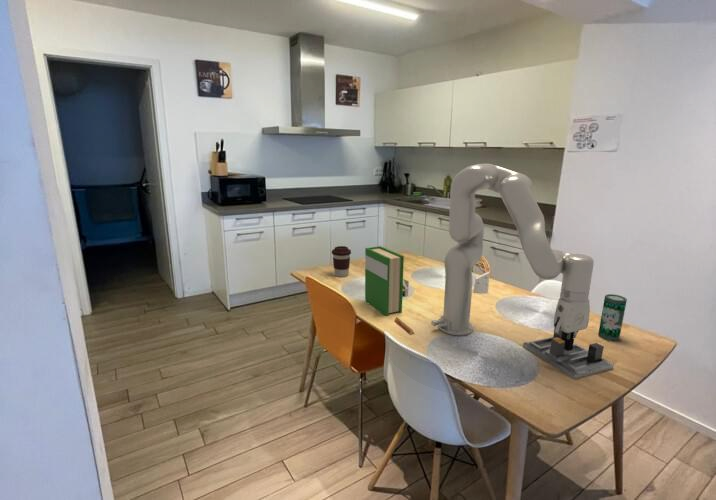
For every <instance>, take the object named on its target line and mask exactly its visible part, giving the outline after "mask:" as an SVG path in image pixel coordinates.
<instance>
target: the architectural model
mask: <svg viewBox="0 0 716 500" xmlns="http://www.w3.org/2000/svg"><path fill="white" fill-rule="evenodd" d="M409 284H410V283H409V280H407V279H405V278H403V294H405V295H403V294H402V296H404V297H405V296H406V297H408V296H409Z"/></svg>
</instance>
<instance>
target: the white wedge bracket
mask: <svg viewBox="0 0 716 500" xmlns="http://www.w3.org/2000/svg"><path fill="white" fill-rule="evenodd" d="M490 275H491V274H490V271H487V272H484V273H483V274H481V275H478V276H477V277H475V279H474V284H473V292H474V293H475V294H489V283H490Z"/></svg>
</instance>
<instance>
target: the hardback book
mask: <svg viewBox="0 0 716 500" xmlns="http://www.w3.org/2000/svg"><path fill="white" fill-rule="evenodd" d="M364 252H365V254H364V255H365V257H364V258H365V260H364V262H365V263H364V265H365V266H364V267H365V269H364V271H365V272H364V276H365V277H364V279H365V281H364V284H365V285H364V302H365V301H366V304H368V303H369V304H368V305H370V306H371V307H373V308H374V309H375V310H377V311H378V312H380V313H382V314H383V315H385V317H389V314H392V313H396V312H398V313H399V314H402V313H403V295H402V294H403V279H404V265H405V264H404V262H405V261H404V260H405V259H404V258H405V256H404V255H402V254H400V253H398V252H395V251H393V250H391V249H389V248H386V247H383V246H381V245H379V246H373V247H365V249H364Z"/></svg>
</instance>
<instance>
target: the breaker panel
mask: <svg viewBox="0 0 716 500" xmlns="http://www.w3.org/2000/svg"><path fill="white" fill-rule="evenodd" d="M555 329H556V328H555V327H554V330H553V336H550V337H546V338H545V337H544V338H541V339H540V338H539V339H535V340H532V341H526V342H523V343H522V344H523V345H522V348H523V349H525V350H527V351H529V353H531V354H532V355H534V356H536V357H538V358H539V359H541V360H542V361H544V362H546V363H548V364H549V365H551V366H553V368H555V369H557V370H559V371H561V373H563V374H565V375H567V376H568V377H570V378H571V379H573V380H577V379H580V378H583V377H588V376H591V375H594V374H599V373H601V372H605V371H609V370H612V369H614V365H615V364H614V363H613V362H611V361H609V360H607V359H605V358H604V357H603V353H604V345H601V344H599V343H598V342H596V343H595V342H594V343H591V344H588V349H587V348H585V347H583V346H581V345H578V344H577V343H575V342H574V343H573V350H570V351H567V350H565V349H564V353H563V356H558V357H557V356H555V355H553V354H552V353H550V348H551V341H552V339H553V338H557V337H558V338H560V339H561V338H562V336H561V335H558V334H556V333H555Z"/></svg>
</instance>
